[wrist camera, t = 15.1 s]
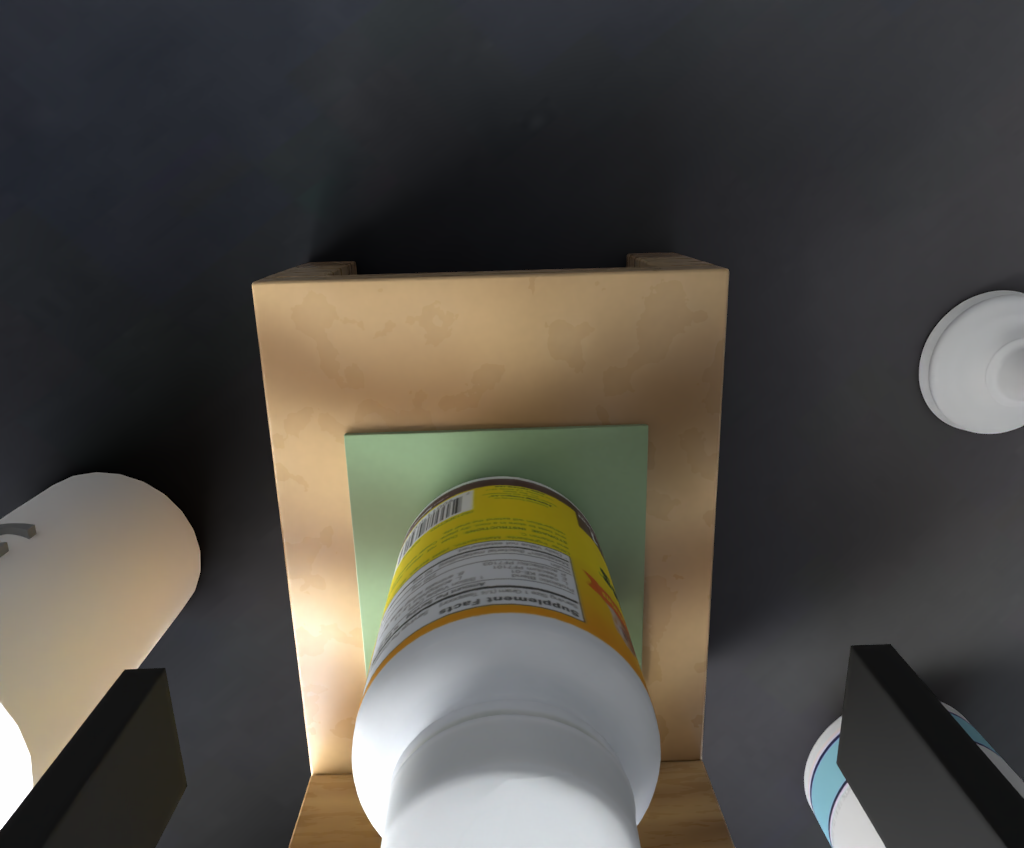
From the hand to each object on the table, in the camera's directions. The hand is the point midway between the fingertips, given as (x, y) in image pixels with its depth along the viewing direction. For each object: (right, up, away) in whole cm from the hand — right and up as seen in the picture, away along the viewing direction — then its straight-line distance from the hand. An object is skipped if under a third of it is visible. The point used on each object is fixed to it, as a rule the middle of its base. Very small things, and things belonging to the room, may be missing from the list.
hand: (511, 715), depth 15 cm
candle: (-14, +1, +13) cm, 19 cm away
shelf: (0, +3, +12) cm, 13 cm away
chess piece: (+16, +8, +12) cm, 22 cm away
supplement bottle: (0, +2, +6) cm, 7 cm away
